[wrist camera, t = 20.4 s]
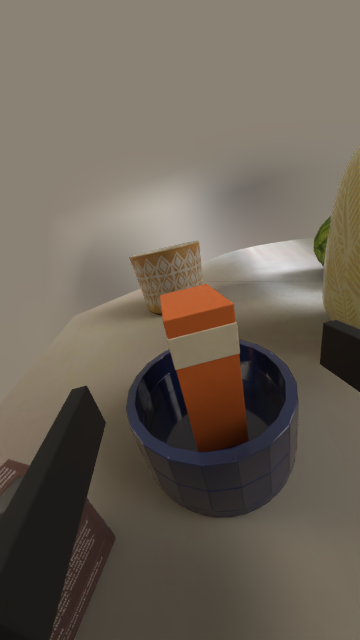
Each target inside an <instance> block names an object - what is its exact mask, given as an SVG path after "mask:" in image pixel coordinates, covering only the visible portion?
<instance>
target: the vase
mask: <svg viewBox="0 0 360 640" xmlns="http://www.w3.org/2000/svg"><path fill="white" fill-rule="evenodd" d="M323 304H324V307H325V310H326V313H327V315H328V317H329V319H330V320H331V321H334V320H338V321H341V322H343V323H346V324H348V325H351V326H353V327H356V328H358V329H360V145H359V147H358V148H357V149H356V151H355V153H354V154H353V156H352V157H351V159H350V161H349V162H348V164H347V166H346V168H345V170H344V173H343V175H342V178H341V181H340V184H339V187H338V191H337V195H336V199H335V202H334V206H333V211H332V215H331V220H330V226H329V232H328V239H327V246H326V253H325V262H324V273H323Z"/></svg>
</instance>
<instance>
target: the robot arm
mask: <svg viewBox="0 0 360 640" xmlns="http://www.w3.org/2000/svg"><path fill="white" fill-rule="evenodd" d="M320 364H321V365H322V366H324V367H325V368H326V369H328V370H329V371H331V372H332V373H334V374H335V375H336V376H338V377H339V378H341V379H342V380H344V381H345V382H346V383H348V384H349V385H351V386H352V387H353V388H355V389H356V390H358V391H359V392H360V329H358V328H356V327H353V326H351V325H348V324H346V323H343V322H341V321H338V320H334V321H330V322H326V323H323V335H322V346H321V358H320ZM105 424H106V422H105V420H104V418H103V416H102V414H101V412H100V410H99V409H98V407H97V405H96V403H95V401H94V399H93V397H92V395H91V393H90V391H89V389H88V387H87V386H83V387H80V388H76V389H72V390H71V392H70V394H69V396H68V398H67V399H66V401H65V403H64V405H63V407H62V409H61V410H60V412H59V414H58V416H57V418H56V419H55V421H54V423H53V425H52V427H51V428H50V430H49V432H48V434H47V436H46V438H45V439H44V441H43V443H42V445H41V447H40V448H39V450H38V452H37V454H36V456H35V457H34V459H33V461H32V463H31V465H30V467H29V468H28V470H27V472H26V474H25V475H24V476H20V477H17V478H16V479H15V480H14V481H13V482H12V483H11V484H10V486H9V487H8V488H7V489H6V490H5V491H4V493H3V494H2V495H1V496H0V640H50V637H51V633H52V629H53V625H54V622H55V618H56V614H57V610H58V606H59V602H60V598H61V594H62V591H63V587H64V583H65V579H66V575H67V571H68V567H69V563H70V560H71V556H72V552H73V548H74V544H75V540H76V536H77V532H78V529H79V525H80V521H81V517H82V513H83V509H84V505H85V501H86V497H87V494H88V490H89V486H90V482H91V478H92V474H93V470H94V466H95V463H96V459H97V455H98V451H99V447H100V443H101V439H102V435H103V432H104V428H105Z"/></svg>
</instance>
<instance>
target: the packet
mask: <svg viewBox="0 0 360 640" xmlns="http://www.w3.org/2000/svg"><path fill="white" fill-rule="evenodd" d="M160 302H161V310H162V317H163V323H164V327H165V331H166V335H167V341H168V345H169V349H170V352H171V356H172V360H173V363H174V367H175V370H176V371H177V375H178V379H179V382H180V386H181V390H182V394H183V397H184V401H185V405H186V408H187V412H188V416H189V419H190V423H191V427H192V430H193V434H194V438H195V442H196V445H197V449H198V452H209V451H217V450H221V449H225V448H228V447H232V446H235V445H239V444H242V443H245V442H247V441H249V440H248V431H247V422H246V413H245V404H244V395H243V385H242V376H241V367H240V358H239V354H240V347H239V338H238V328H237V322H236V321H235V312H234V304H233V303H232V302H231V301H229V300H228V299H226V298H225V297H224V296H222V295H221V294H220V293H218V292H217V291H215V290H214V289H213V288H211V287H210V286H209V285H207V284H204V285H200V286H196V287H192V288H187V289H183V290H179V291H175V292H171V293H167V294H163V295H160Z"/></svg>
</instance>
